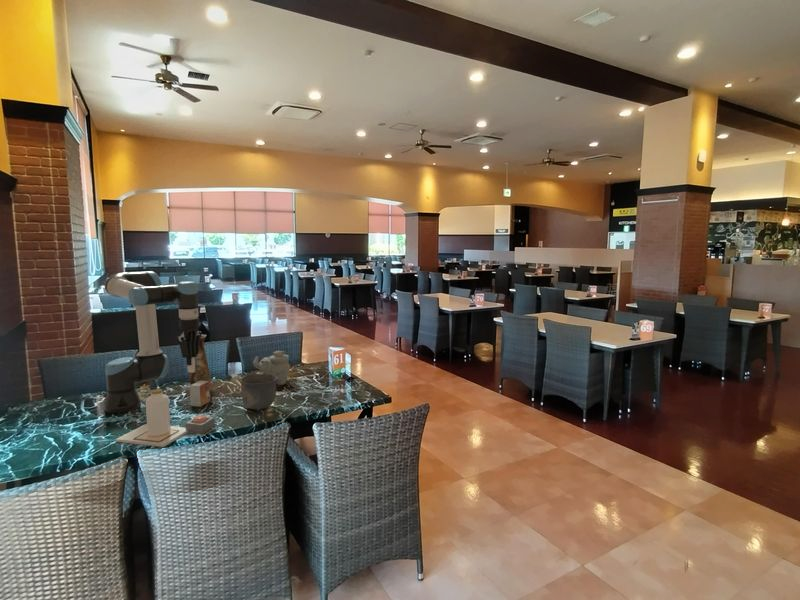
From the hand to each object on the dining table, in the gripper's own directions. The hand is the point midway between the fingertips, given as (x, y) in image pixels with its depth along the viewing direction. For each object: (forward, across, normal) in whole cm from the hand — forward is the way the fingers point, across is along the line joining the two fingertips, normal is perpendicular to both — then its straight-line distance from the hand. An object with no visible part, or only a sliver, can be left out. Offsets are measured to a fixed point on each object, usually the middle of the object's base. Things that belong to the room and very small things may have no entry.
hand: (191, 371), depth 194 cm
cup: (+23, +23, -19) cm, 38 cm away
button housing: (+23, -5, -7) cm, 25 cm away
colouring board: (+23, -15, +7) cm, 29 cm away
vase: (+25, +39, +26) cm, 53 cm away
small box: (+24, +22, +13) cm, 35 cm away
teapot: (+24, +60, -5) cm, 65 cm away
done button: (+22, -5, -7) cm, 24 cm away
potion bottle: (+22, -14, +5) cm, 27 cm away
